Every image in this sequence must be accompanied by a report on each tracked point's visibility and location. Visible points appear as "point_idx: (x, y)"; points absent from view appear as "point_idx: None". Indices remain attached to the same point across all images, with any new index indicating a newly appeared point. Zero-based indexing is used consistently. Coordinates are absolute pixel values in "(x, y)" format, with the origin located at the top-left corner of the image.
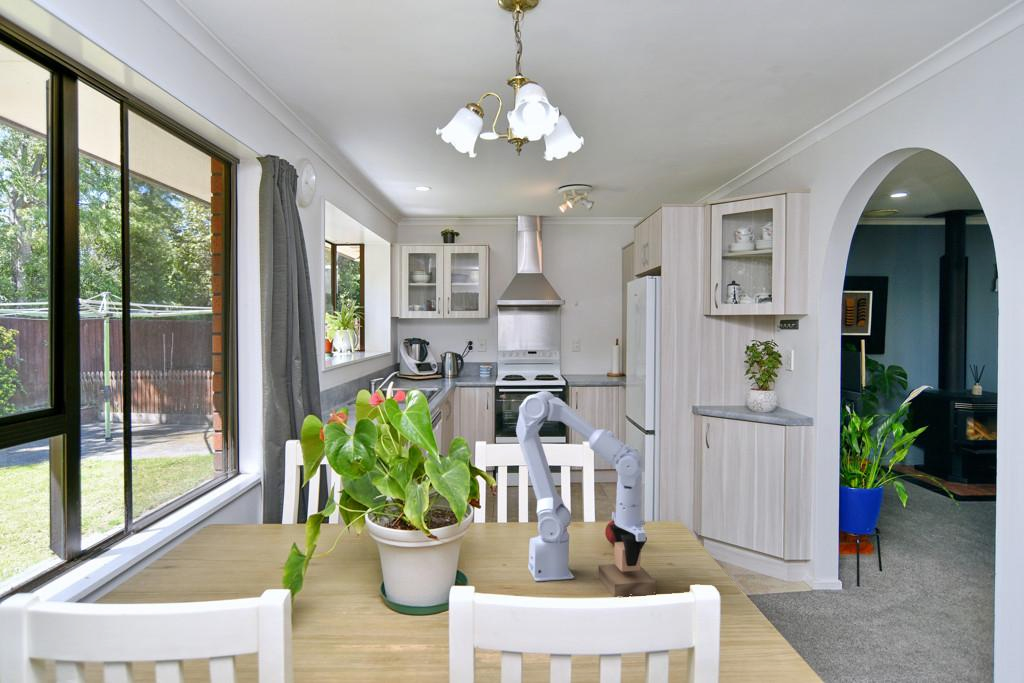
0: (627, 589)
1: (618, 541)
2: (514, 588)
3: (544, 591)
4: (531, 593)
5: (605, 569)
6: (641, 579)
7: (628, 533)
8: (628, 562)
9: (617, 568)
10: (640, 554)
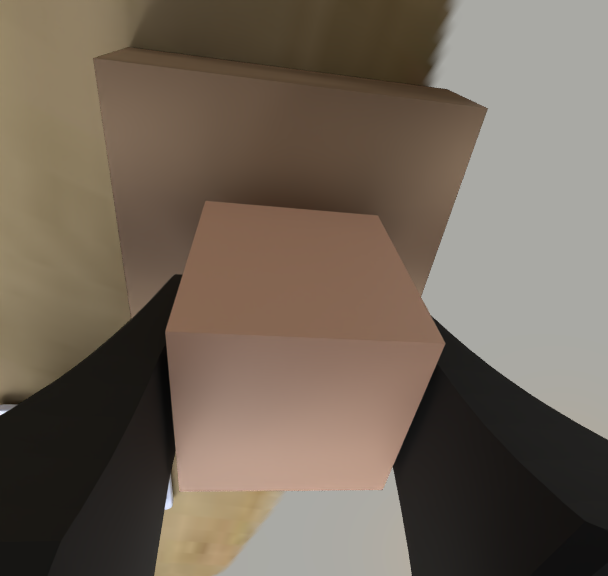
0: None
1: (167, 467)
2: (209, 539)
3: (247, 491)
4: (252, 516)
5: None
6: (408, 206)
7: (126, 486)
8: None
9: None
10: (419, 297)
